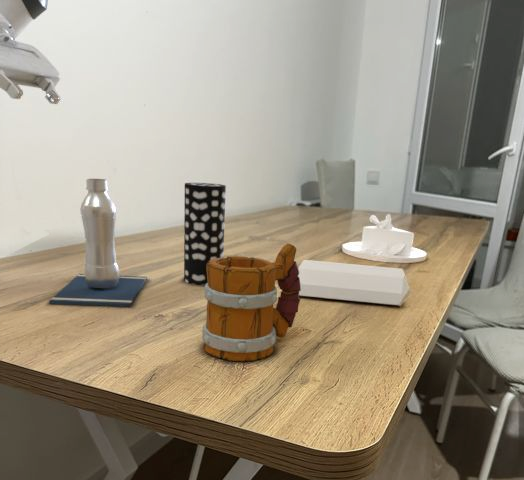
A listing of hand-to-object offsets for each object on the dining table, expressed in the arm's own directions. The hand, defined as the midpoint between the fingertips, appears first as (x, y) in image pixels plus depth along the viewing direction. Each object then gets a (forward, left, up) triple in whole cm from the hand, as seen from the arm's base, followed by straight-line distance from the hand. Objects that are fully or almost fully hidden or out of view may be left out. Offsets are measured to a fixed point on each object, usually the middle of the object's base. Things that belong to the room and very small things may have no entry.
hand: (38, 99), depth 91 cm
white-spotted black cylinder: (+29, +7, -34) cm, 45 cm away
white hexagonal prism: (+59, -3, -34) cm, 68 cm away
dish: (+81, +49, -34) cm, 101 cm away
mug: (+38, -31, -34) cm, 60 cm away
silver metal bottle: (+10, -4, -33) cm, 35 cm away
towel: (+10, -4, -33) cm, 35 cm away
